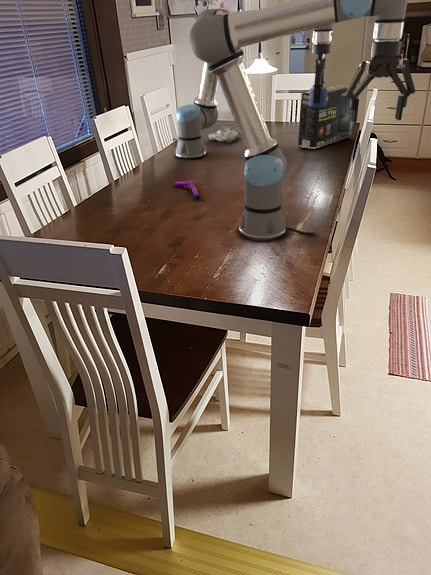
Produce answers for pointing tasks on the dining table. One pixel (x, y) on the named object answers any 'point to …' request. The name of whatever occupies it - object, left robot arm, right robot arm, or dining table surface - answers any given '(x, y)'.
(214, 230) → the dining table surface
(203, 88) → the left robot arm
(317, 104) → the cylinder
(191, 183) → the handgun
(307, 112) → the router box
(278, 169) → the right robot arm
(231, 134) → the fossil
